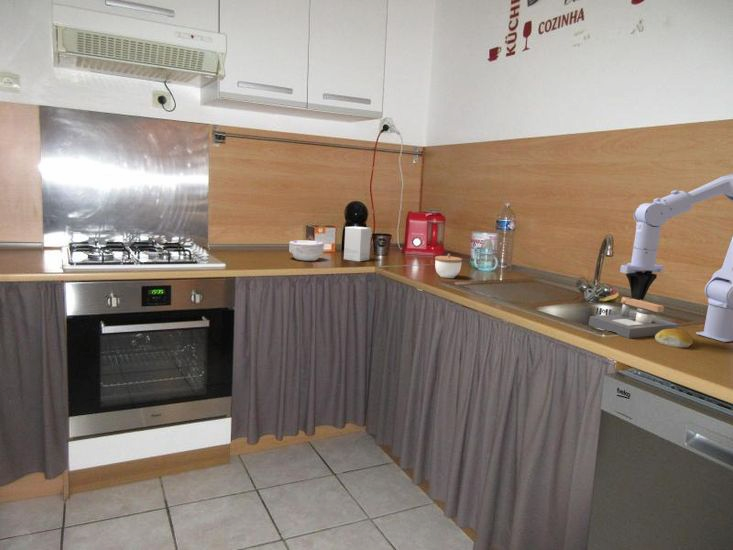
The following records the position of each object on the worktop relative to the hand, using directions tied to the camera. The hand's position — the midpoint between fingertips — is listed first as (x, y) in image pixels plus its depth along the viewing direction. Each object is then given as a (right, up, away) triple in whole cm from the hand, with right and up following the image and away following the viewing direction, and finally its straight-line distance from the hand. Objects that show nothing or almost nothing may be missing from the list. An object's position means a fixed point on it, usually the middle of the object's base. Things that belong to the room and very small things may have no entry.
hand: (637, 299), depth 145 cm
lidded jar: (-40, +6, +73) cm, 84 cm away
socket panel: (+2, -9, +6) cm, 11 cm away
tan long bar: (+4, -2, +6) cm, 7 cm away
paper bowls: (-100, +13, +95) cm, 138 cm away
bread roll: (+6, -11, -6) cm, 14 cm away
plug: (+4, -9, +6) cm, 11 cm away
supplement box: (-77, +13, +104) cm, 130 cm away
